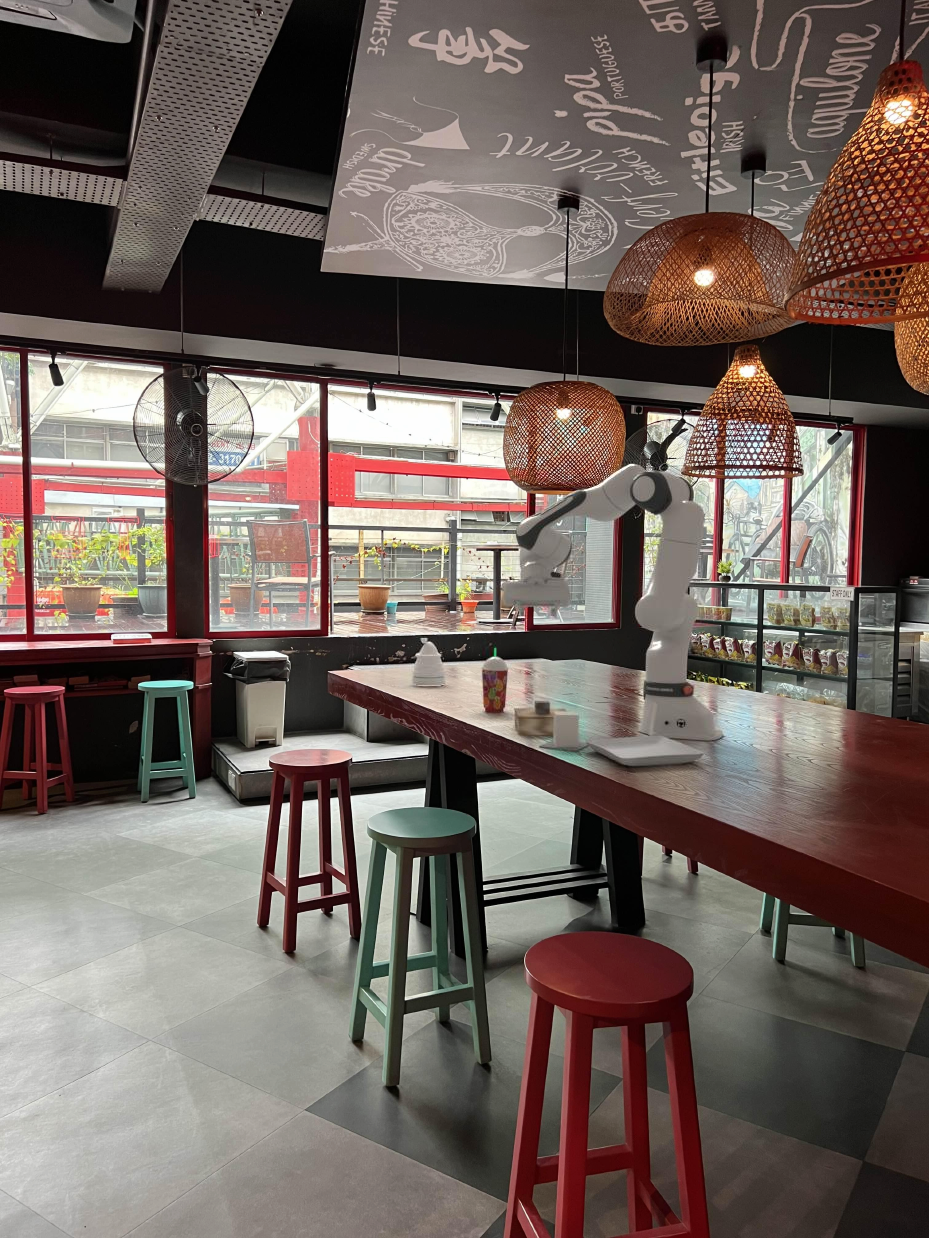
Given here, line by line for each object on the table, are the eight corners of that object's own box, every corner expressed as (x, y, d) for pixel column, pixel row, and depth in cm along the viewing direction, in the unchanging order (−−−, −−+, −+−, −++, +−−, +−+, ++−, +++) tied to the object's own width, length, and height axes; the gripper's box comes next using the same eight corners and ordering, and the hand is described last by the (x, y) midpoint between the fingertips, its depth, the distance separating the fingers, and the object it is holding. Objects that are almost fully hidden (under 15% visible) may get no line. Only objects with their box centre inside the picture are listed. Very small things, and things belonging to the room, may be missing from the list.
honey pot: (410, 686, 327) (410, 639, 326) (413, 682, 340) (414, 637, 339) (444, 687, 327) (444, 640, 326) (446, 682, 339) (446, 637, 338)
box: (564, 725, 246) (564, 698, 245) (571, 735, 231) (571, 705, 231) (513, 725, 245) (514, 697, 245) (517, 734, 231) (518, 705, 231)
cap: (575, 742, 219) (575, 711, 219) (578, 746, 214) (578, 715, 213) (553, 742, 219) (553, 711, 219) (555, 746, 214) (556, 714, 213)
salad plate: (622, 771, 191) (622, 756, 191) (583, 752, 211) (583, 738, 211) (706, 767, 197) (706, 752, 197) (661, 748, 217) (661, 735, 217)
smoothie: (508, 709, 274) (509, 647, 273) (506, 713, 266) (507, 649, 265) (482, 709, 275) (483, 646, 274) (480, 713, 266) (480, 648, 265)
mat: (591, 744, 219) (591, 743, 219) (576, 751, 210) (576, 750, 210) (554, 740, 223) (554, 739, 223) (539, 747, 215) (539, 745, 215)
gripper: (501, 573, 259) (503, 607, 250) (569, 574, 259) (573, 607, 250) (500, 587, 264) (502, 621, 254) (567, 588, 264) (571, 622, 255)
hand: (538, 614), depth 252 cm, fingers open, 8 cm apart
